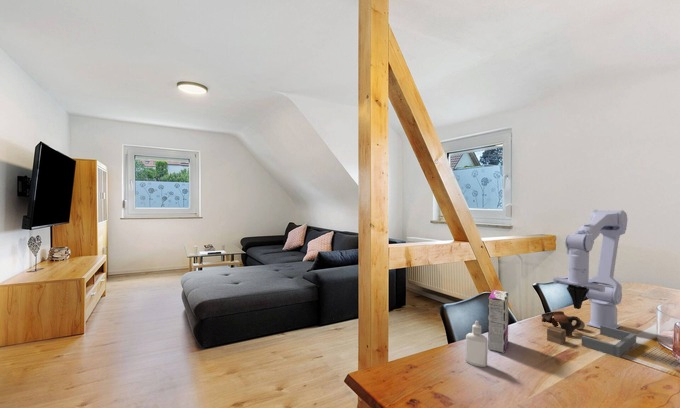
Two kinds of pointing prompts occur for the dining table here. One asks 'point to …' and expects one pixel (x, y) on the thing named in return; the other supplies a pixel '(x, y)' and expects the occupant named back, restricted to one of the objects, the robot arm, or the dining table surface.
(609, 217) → the robot arm
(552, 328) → the walnut block
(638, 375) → the dining table surface
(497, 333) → the candy bar box
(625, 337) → the corral
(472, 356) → the eye dropper bottle
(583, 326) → the cork ball
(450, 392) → the dining table surface
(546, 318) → the pottery mug
